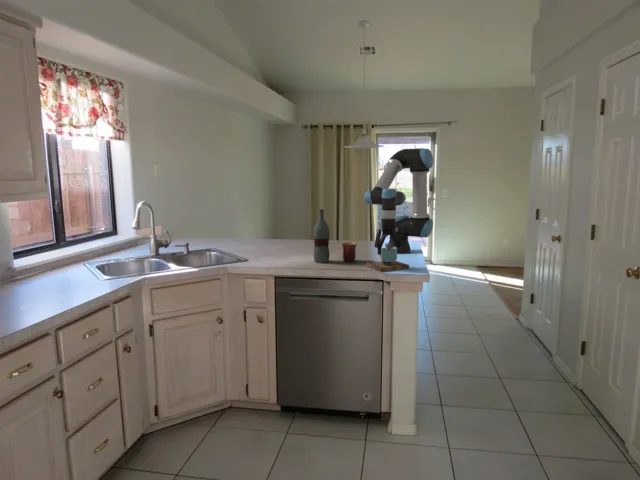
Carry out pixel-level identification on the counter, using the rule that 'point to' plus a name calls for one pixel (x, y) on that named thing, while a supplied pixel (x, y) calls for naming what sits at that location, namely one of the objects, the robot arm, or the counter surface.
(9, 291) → the counter surface
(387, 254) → the ring
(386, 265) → the post block
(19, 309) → the counter surface
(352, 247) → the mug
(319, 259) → the bottle
